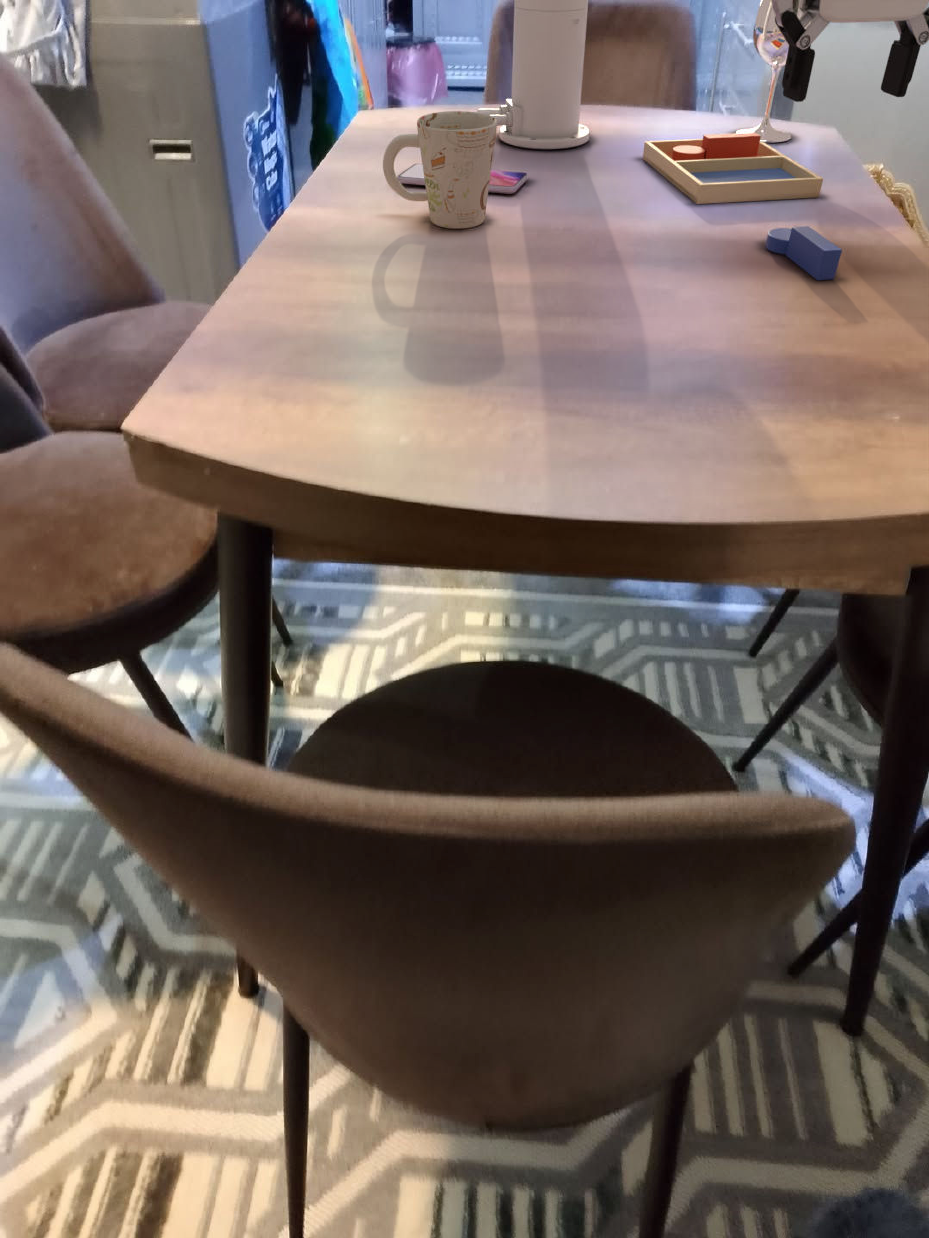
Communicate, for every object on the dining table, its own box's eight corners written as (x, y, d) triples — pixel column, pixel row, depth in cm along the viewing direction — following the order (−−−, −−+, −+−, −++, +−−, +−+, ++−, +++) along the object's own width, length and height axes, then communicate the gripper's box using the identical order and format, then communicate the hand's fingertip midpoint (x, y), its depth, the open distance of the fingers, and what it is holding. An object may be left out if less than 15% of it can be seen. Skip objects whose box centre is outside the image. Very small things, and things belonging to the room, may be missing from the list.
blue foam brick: (845, 278, 88) (853, 249, 86) (806, 281, 87) (813, 251, 86) (794, 240, 96) (800, 213, 94) (758, 243, 96) (764, 215, 94)
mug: (487, 235, 97) (489, 132, 91) (374, 227, 99) (368, 126, 93) (500, 211, 104) (503, 113, 97) (394, 204, 105) (389, 107, 99)
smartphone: (414, 162, 115) (529, 172, 112) (415, 170, 116) (529, 180, 113) (394, 177, 110) (514, 187, 107) (395, 184, 111) (514, 195, 107)
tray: (697, 204, 106) (700, 185, 104) (642, 158, 120) (644, 141, 119) (819, 197, 108) (823, 178, 106) (750, 153, 122) (753, 136, 121)
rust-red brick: (747, 154, 119) (751, 130, 117) (759, 162, 116) (764, 138, 114) (667, 158, 118) (670, 134, 116) (677, 166, 115) (681, 142, 113)
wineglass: (757, 146, 125) (792, -32, 112) (723, 133, 131) (752, -38, 117) (803, 140, 127) (842, -35, 114) (768, 127, 133) (801, -41, 120)
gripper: (972, -151, 75) (907, 84, 86) (777, -150, 73) (736, 92, 84) (1031, -151, 70) (953, 101, 81) (821, -150, 67) (771, 110, 78)
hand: (843, 96), depth 82 cm, fingers open, 9 cm apart
